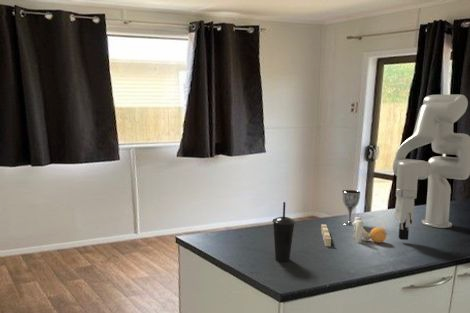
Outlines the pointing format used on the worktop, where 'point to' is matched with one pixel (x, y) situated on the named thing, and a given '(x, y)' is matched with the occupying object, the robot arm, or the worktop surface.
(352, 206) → the wine glass
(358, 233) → the pin
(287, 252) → the drinking cup
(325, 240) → the back wall
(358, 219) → the pin
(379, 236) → the ball
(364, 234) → the front pin
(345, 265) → the worktop surface
